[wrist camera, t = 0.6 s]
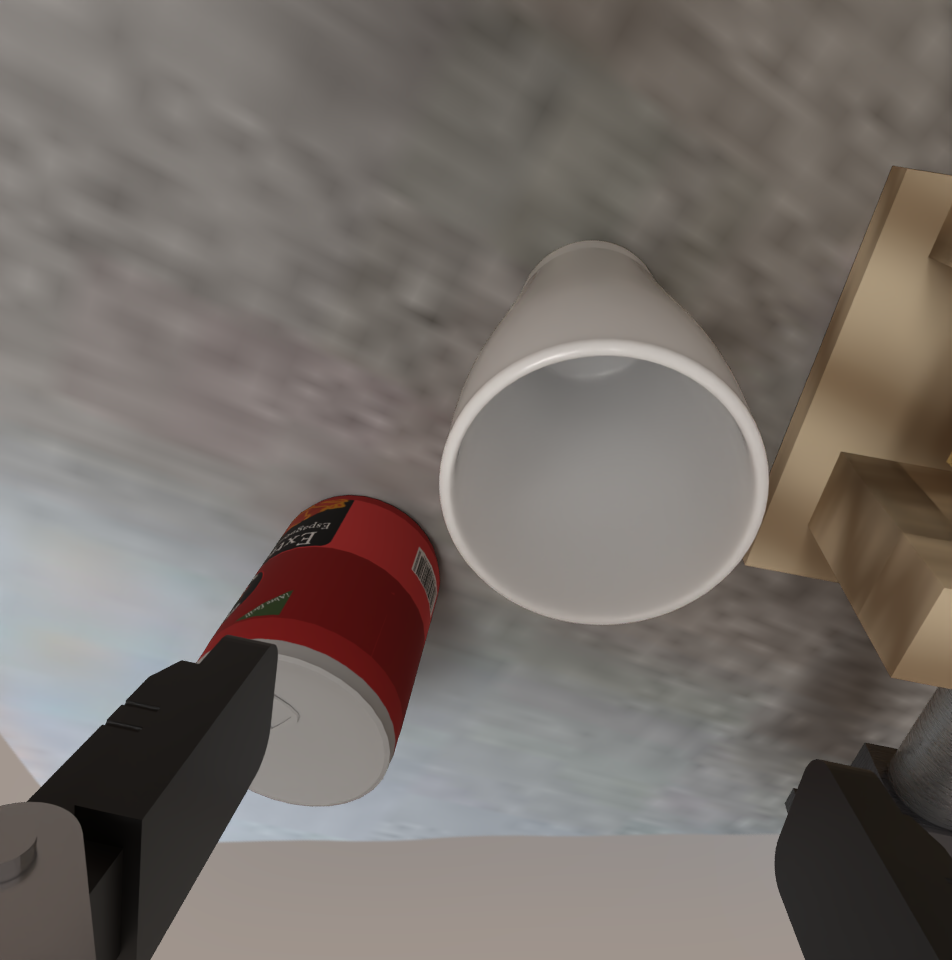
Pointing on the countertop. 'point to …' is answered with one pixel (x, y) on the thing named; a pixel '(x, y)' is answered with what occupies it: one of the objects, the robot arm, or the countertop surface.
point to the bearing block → (880, 439)
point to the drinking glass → (601, 448)
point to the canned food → (338, 645)
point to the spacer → (950, 460)
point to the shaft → (918, 769)
